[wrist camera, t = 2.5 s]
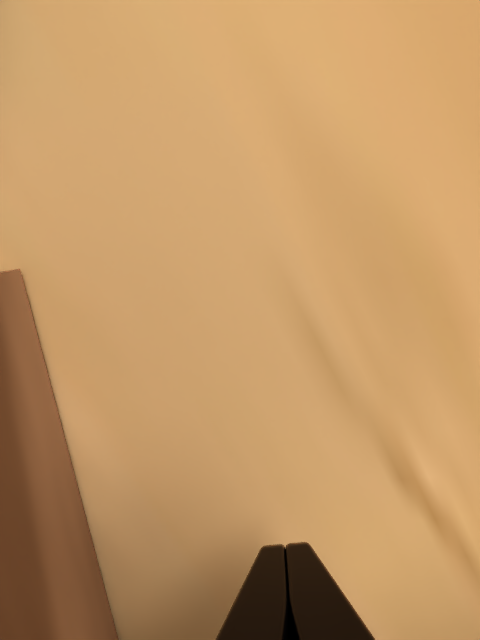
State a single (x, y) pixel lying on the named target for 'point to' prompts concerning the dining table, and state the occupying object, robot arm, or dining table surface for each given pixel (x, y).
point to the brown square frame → (40, 498)
